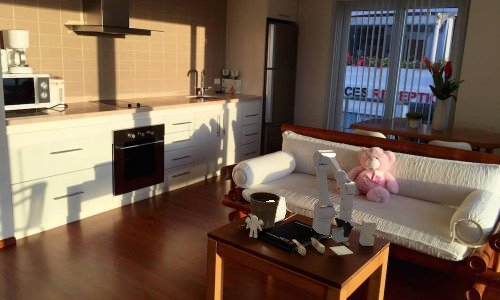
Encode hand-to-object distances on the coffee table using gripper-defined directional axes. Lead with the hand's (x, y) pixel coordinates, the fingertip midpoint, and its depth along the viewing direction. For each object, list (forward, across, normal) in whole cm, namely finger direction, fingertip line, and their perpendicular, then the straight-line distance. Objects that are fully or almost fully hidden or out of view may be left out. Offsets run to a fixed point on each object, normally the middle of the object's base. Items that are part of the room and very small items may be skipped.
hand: (343, 234), depth 208 cm
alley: (+8, -6, -15) cm, 18 cm away
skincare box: (+8, -4, +17) cm, 19 cm away
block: (+2, 0, -1) cm, 3 cm away
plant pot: (+8, -37, -25) cm, 45 cm away
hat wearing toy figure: (+8, -25, -35) cm, 44 cm away
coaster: (+8, 0, 0) cm, 8 cm away
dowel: (+8, -9, +6) cm, 14 cm away
